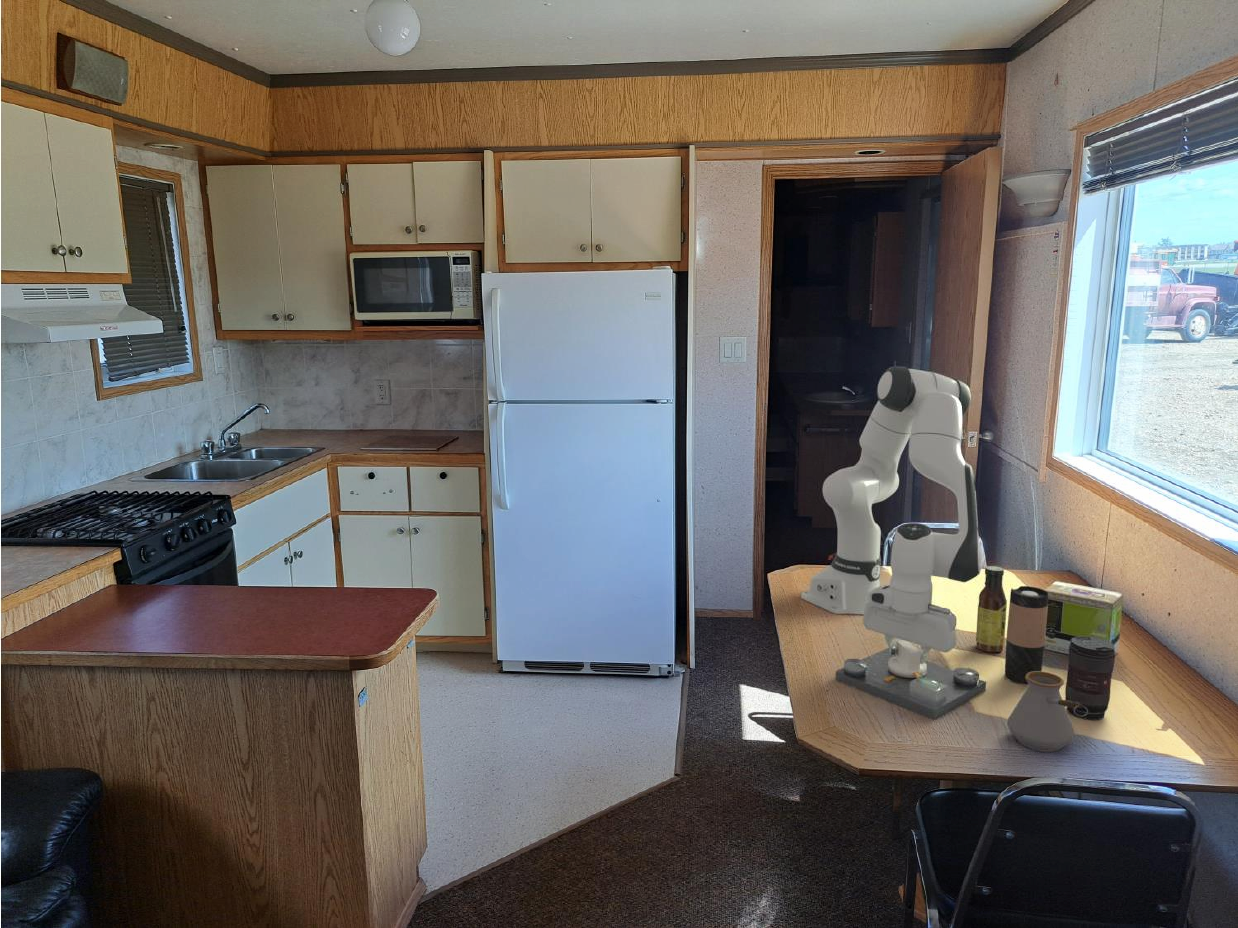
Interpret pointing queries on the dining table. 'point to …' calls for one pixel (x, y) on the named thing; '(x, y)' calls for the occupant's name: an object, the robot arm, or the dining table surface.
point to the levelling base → (903, 686)
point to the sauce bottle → (991, 612)
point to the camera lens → (1089, 676)
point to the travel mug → (1025, 632)
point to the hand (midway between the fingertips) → (906, 658)
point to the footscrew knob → (907, 661)
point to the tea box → (1081, 615)
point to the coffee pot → (1043, 714)
